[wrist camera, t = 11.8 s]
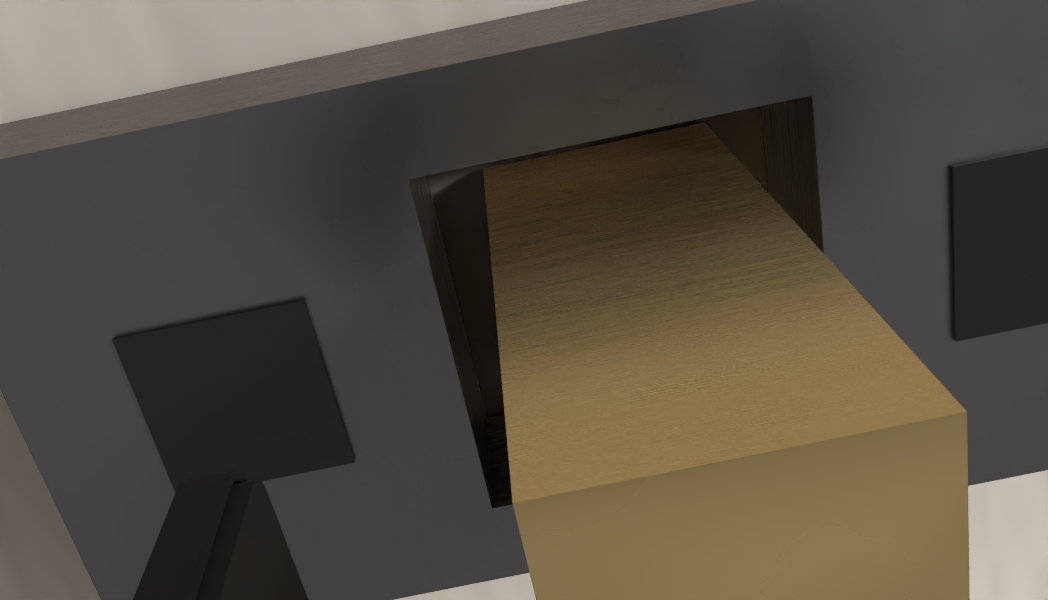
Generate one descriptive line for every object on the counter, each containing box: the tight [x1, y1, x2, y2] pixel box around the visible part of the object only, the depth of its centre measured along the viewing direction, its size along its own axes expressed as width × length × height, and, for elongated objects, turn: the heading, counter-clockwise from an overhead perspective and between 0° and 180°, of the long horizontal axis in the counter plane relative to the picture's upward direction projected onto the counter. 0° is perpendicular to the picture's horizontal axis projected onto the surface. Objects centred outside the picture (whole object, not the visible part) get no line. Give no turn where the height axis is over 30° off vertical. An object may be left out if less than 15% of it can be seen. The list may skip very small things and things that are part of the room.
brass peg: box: [483, 123, 969, 600], centre depth 14 cm, size 4×4×10 cm
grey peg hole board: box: [0, 0, 1048, 600], centre depth 17 cm, size 9×20×3 cm, turn 101°
